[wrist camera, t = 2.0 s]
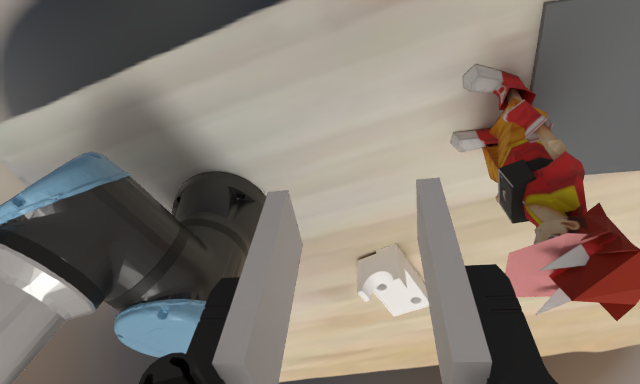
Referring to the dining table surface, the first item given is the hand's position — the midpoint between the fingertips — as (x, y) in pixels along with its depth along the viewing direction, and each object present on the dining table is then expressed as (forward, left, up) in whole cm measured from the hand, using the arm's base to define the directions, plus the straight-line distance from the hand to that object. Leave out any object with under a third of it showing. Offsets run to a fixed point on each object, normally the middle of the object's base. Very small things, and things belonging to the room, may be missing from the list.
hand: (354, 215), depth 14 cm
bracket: (+2, -43, -35) cm, 55 cm away
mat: (+31, -13, -35) cm, 48 cm away
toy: (+14, -13, -35) cm, 40 cm away
